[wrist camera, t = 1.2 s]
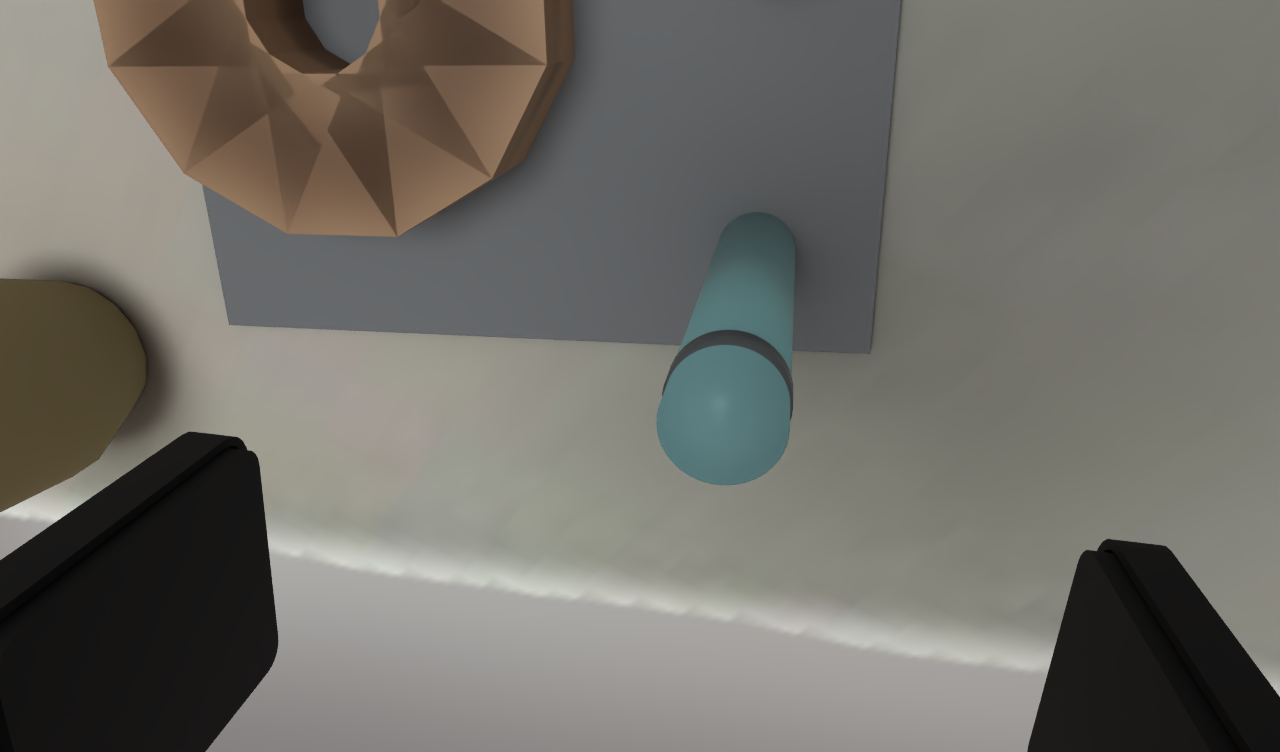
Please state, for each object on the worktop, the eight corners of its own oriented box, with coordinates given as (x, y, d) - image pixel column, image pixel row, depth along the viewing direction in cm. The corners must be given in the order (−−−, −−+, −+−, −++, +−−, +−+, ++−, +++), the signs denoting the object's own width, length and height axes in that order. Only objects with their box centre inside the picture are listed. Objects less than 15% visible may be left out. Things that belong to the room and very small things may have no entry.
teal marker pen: (798, 211, 30) (795, 365, 17) (794, 290, 31) (788, 492, 18) (716, 209, 30) (653, 358, 18) (715, 288, 31) (654, 482, 19)
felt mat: (926, -313, 25) (928, -317, 24) (869, 349, 32) (869, 353, 31) (125, -260, 28) (116, -264, 28) (235, 321, 35) (229, 324, 35)
